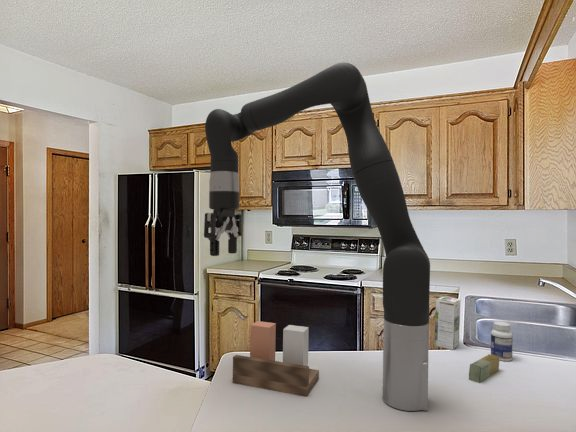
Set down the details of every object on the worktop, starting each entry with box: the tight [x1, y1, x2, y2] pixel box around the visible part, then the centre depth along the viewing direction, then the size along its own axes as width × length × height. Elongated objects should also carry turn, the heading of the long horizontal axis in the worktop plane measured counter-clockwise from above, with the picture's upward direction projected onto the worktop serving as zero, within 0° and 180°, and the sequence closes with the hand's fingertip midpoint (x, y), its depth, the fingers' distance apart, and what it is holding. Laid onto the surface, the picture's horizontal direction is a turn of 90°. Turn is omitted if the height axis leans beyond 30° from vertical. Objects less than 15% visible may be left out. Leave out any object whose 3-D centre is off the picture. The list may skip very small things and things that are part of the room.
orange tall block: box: [249, 320, 277, 361], centre depth 95 cm, size 5×4×10 cm
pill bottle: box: [490, 321, 514, 362], centre depth 109 cm, size 5×5×10 cm
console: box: [231, 354, 320, 397], centre depth 92 cm, size 18×10×6 cm, turn 70°
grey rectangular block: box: [282, 324, 310, 366], centre depth 92 cm, size 5×4×10 cm
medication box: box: [468, 353, 500, 384], centre depth 97 cm, size 12×3×4 cm, turn 131°
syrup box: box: [433, 296, 461, 351], centre depth 119 cm, size 6×6×14 cm
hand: (223, 254), depth 98 cm, fingers open, 8 cm apart
